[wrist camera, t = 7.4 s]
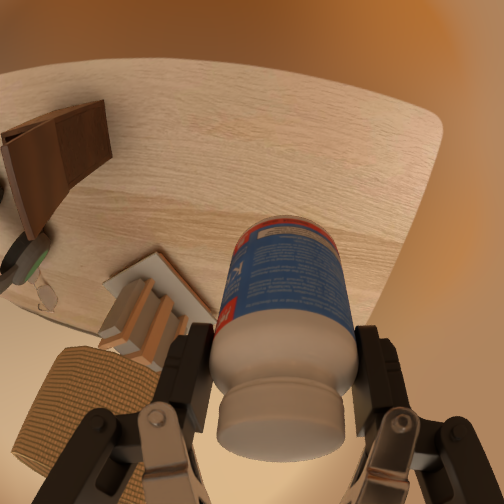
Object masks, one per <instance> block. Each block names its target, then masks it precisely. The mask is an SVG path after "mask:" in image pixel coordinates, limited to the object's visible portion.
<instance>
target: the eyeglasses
mask: <svg viewBox="0 0 504 504" xmlns="http://www.w3.org/2000/svg"><path fill="white" fill-rule="evenodd" d="M39 273H40V271H39V268H37V269H36V271H35V272H34V273H33V274H32V276H31V277H30V278H29V279H28V281H29V282H30V283H31V284H34V287H35V282H36V281H37V279H38V276H39ZM35 288H36V287H35ZM36 289H37V288H36ZM37 290H38V291H37V293H38V296H39V298H40V300H41V301H42V303H43V304H44V306H45V307H46V308H47V309H48V311H47V312H52V311H53V312H52V313H54V308H55V306H56V304H57V296H56V294H55V293H54V291H53V290H52V288H51V287H50V286H49V285H44V286H40V287H38V289H37ZM38 308H39V306H38ZM39 310H41V309H39ZM41 311H45V310H41Z"/></svg>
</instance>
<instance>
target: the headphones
mask: <svg viewBox="0 0 504 504" xmlns="http://www.w3.org/2000/svg"><path fill="white" fill-rule="evenodd" d="M2 198H3V189H2V188H1V187H0V203H1V200H2ZM49 249H50V239H49V238H48V237H47V236H46V235H45V234H44V232H43V230H41V232H40V233H39V235H38V236H37V238H36V239H35V240H30V241H29V240H28V238H27V235H26V233H25V231H24V232H23V233H22V234H21V235H20V236H19V237H18V238H17V239H16V241H15V242H14V243H13V245H12V246H11V247H10V249H9V250H8V252H7V254H6V255H5V257H4V259H3V261H2V264H1V267H0V273H1V274H2V275H0V294H1V293H3V292H4V291H5V290H6V289H7V288H8V287H9V286H10V285H11V284H12V283H14V284H15V285H22V284H24V283H25V282H26V281H27V280H28V279H29V278H30V277H31V276H32V274H33V273H34V272H35V271H36V269H37V268H38V267H39V265H40V264H41V262H42V261H43V259H44V258H45V256H46V255H47V253H48V251H49Z"/></svg>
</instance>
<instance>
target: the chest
mask: <svg viewBox="0 0 504 504" xmlns="http://www.w3.org/2000/svg"><path fill="white" fill-rule="evenodd" d="M50 119H54V121H55V127H56V133H57V138H58V143H59V148H60V153H61V158H62V162H63V167H64V171H65V176H66V180H67V184H68V188H69V190H70V189H71V188H72V187H74V186H75V185H76V184H77V183H79V182H80V181H81V180H83V179H84V178H85V177H87V176H88V175H89V174H90V173H92V172H93V171H94V170H96V169H97V168H98V167H100V166H101V165H103V164H104V163H105V162H107V161H108V160H110V159H111V158H112V152H111V146H110V140H109V134H108V127H107V121H106V113H105V106H104V100H99V101H94V102H89V103H84V104H80V105H76V106H71V107H67V108H63V109H59V110H55V111H52V112H49V113H47V114H44V115H42V116H39V117H37V118H34V119H32V120H30V121H27V122H25V123H23V124H20V125H18V126H16V127H14V128H11V129H9V130H7V131H5V132H3V133H1V137H2V143H3V145H4V144H6V143H8V142H9V141H11V140H13V139H14V138H16V137H18V136H20V135H21V134H23V133H25V132H27V131H29V130H30V129H32V128H34V127H36V126H38V125H40V124H42V123H44V122H46V121H48V120H50Z"/></svg>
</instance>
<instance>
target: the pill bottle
mask: <svg viewBox="0 0 504 504" xmlns="http://www.w3.org/2000/svg"><path fill="white" fill-rule="evenodd" d="M358 367H359V358H358V350H357V343H356V337H355V332H354V326H353V321H352V316H351V311H350V305H349V300H348V295H347V290H346V285H345V280H344V275H343V270H342V265H341V260H340V256H339V253H338V250H337V247H336V244H335V242H334V240H333V239H332V237H331V236H330V235H329V233H328V232H327V231H326V230H325V229H324V228H322V227H321V226H320V225H318V224H316V223H315V222H313V221H311V220H308V219H306V218H302V217H298V216H292V215H280V216H273V217H269V218H266V219H263V220H261V221H259V222H257V223H255V224H254V225H252V226H251V227H250V228H248V229H247V230H246V231H245V232H244V233H243V235H242V236H241V237H240V239H239V240H238V242H237V244H236V246H235V249H234V252H233V255H232V260H231V264H230V268H229V272H228V277H227V281H226V285H225V289H224V294H223V298H222V303H221V307H220V312H219V316H218V320H217V324H216V329H215V333H214V338H213V342H212V346H211V352H210V358H209V369H210V374H211V377H212V379H213V381H214V383H215V385H216V386H217V388H218V389H219V390H220V391H221V392H222V393H223V394H224V397H223V400H222V402H221V404H220V407H219V419H218V428H217V440H218V442H219V443H220V444H221V446H222V447H224V448H225V449H226V450H228V451H230V452H232V453H234V454H236V455H239V456H242V457H246V458H249V459H254V460H260V461H267V462H297V461H305V460H310V459H315V458H319V457H322V456H325V455H328V454H330V453H332V452H334V451H335V450H337V449H338V448H339V447H340V446H341V445H342V444H343V442H344V440H345V419H344V406H343V400H342V397H341V396H343V395H344V394H345V393H346V392H347V391H348V390H349V388H350V387H351V386H352V384H353V383H354V381H355V379H356V376H357V373H358Z"/></svg>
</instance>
